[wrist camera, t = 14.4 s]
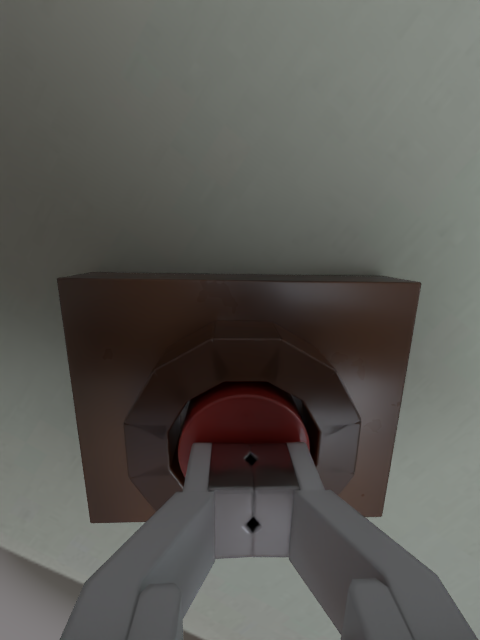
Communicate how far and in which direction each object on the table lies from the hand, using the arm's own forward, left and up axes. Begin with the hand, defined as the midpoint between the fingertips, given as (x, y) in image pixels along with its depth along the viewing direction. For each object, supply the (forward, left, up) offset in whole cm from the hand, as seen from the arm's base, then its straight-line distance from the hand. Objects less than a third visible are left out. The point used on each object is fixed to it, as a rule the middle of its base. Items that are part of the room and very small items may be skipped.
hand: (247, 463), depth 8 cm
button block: (0, 0, -4) cm, 4 cm away
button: (0, 0, -2) cm, 2 cm away
